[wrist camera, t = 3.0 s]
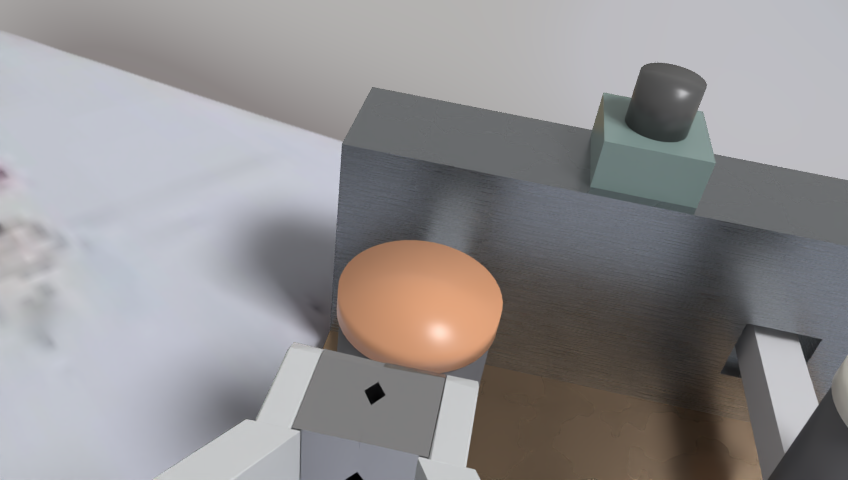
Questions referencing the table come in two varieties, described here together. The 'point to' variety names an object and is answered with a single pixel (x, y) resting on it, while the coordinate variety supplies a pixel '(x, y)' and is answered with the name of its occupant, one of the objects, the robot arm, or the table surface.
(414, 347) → the orange-capped knob
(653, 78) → the potentiometer
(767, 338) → the cream-capped knob
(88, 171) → the table surface
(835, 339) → the mount
